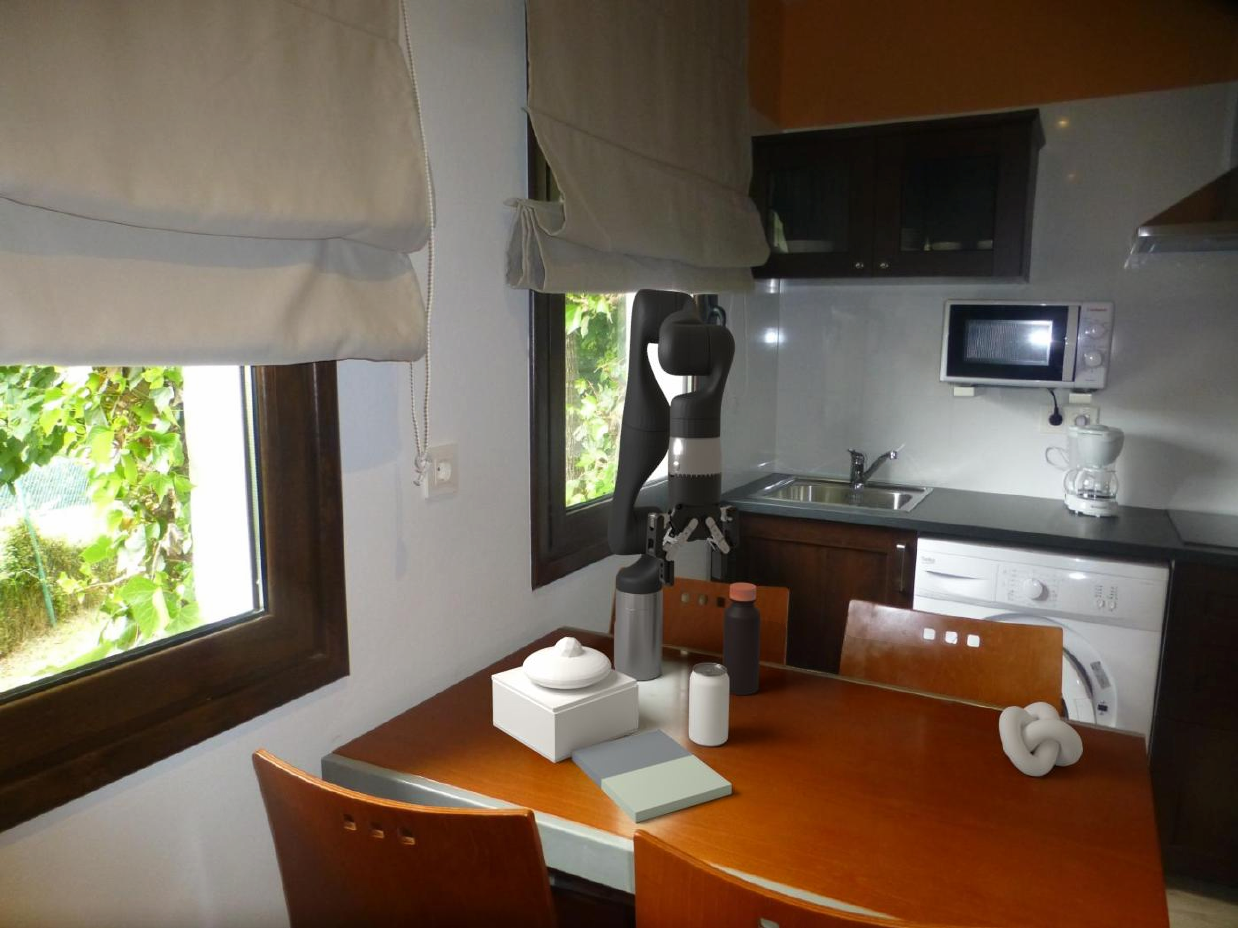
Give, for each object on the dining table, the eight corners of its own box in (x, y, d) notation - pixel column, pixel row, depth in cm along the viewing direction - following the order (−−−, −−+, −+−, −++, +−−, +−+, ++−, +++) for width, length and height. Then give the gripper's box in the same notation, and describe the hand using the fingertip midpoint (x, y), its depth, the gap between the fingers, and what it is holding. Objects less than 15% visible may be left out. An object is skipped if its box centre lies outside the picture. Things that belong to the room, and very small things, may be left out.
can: (727, 730, 143) (729, 662, 141) (728, 748, 136) (730, 677, 135) (688, 728, 143) (690, 660, 142) (688, 746, 137) (689, 675, 135)
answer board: (571, 759, 132) (571, 750, 132) (659, 737, 140) (659, 728, 140) (635, 822, 115) (635, 812, 115) (731, 793, 123) (731, 783, 122)
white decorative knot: (1038, 792, 124) (1043, 734, 122) (972, 756, 134) (976, 702, 133) (1090, 775, 128) (1095, 719, 127) (1022, 742, 139) (1026, 690, 138)
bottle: (732, 678, 165) (735, 579, 162) (764, 687, 161) (767, 585, 158) (715, 690, 159) (718, 587, 156) (748, 699, 155) (751, 593, 153)
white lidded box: (554, 764, 131) (554, 666, 129) (491, 724, 145) (490, 635, 142) (638, 730, 143) (639, 640, 140) (572, 697, 156) (572, 614, 154)
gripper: (721, 463, 125) (719, 570, 127) (637, 468, 119) (636, 581, 121) (752, 468, 119) (749, 581, 121) (665, 475, 112) (664, 594, 114)
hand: (693, 581), depth 121 cm, fingers open, 8 cm apart
